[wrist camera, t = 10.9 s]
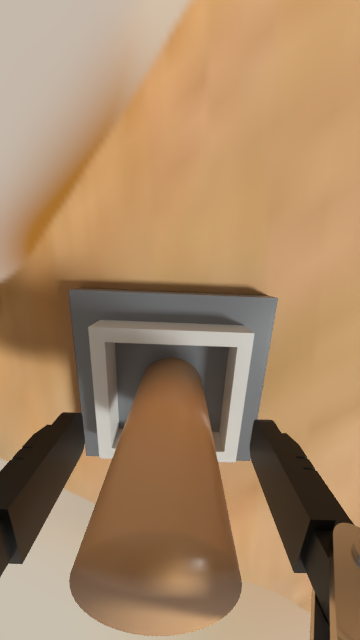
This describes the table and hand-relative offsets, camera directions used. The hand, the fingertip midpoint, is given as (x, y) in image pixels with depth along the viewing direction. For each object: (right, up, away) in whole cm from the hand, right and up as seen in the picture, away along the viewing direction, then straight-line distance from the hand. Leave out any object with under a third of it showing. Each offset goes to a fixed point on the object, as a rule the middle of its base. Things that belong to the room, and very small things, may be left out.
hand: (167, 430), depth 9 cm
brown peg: (0, +1, +3) cm, 4 cm away
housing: (0, +1, +5) cm, 5 cm away
